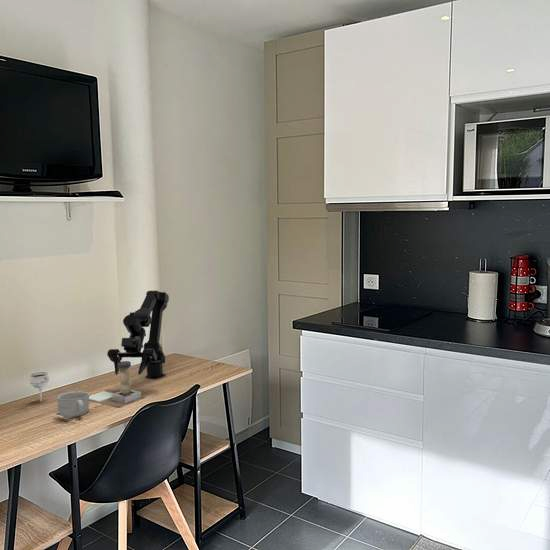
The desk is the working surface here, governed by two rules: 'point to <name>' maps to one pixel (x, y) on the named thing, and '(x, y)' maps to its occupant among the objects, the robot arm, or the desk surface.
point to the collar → (126, 397)
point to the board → (114, 404)
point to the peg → (125, 377)
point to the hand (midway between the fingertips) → (127, 374)
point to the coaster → (100, 396)
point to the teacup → (73, 404)
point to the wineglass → (39, 381)
